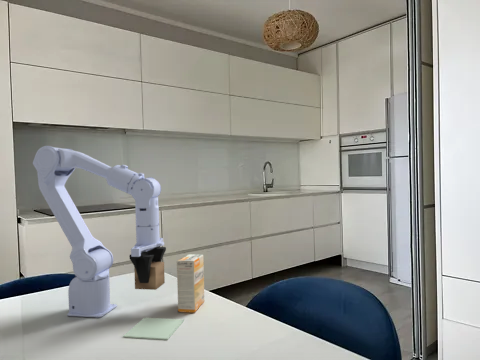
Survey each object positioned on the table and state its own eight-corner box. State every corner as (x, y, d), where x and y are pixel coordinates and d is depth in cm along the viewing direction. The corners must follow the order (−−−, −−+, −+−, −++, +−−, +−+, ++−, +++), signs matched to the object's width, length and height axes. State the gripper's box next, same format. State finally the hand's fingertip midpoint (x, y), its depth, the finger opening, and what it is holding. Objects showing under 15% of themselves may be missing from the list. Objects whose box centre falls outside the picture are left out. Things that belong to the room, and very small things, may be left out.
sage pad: (123, 337, 76) (123, 335, 76) (144, 318, 86) (144, 317, 86) (167, 339, 74) (167, 338, 74) (183, 320, 84) (183, 319, 84)
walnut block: (134, 289, 88) (134, 266, 88) (144, 282, 93) (144, 261, 93) (155, 289, 87) (155, 267, 87) (164, 283, 92) (164, 261, 92)
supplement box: (195, 313, 89) (194, 260, 89) (177, 312, 90) (175, 260, 90) (205, 301, 97) (204, 253, 97) (188, 301, 98) (187, 253, 98)
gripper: (150, 229, 82) (152, 288, 82) (173, 221, 97) (174, 271, 97) (122, 229, 83) (124, 287, 84) (148, 221, 98) (150, 271, 98)
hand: (149, 279), depth 90 cm, fingers closed on walnut block, 5 cm apart
